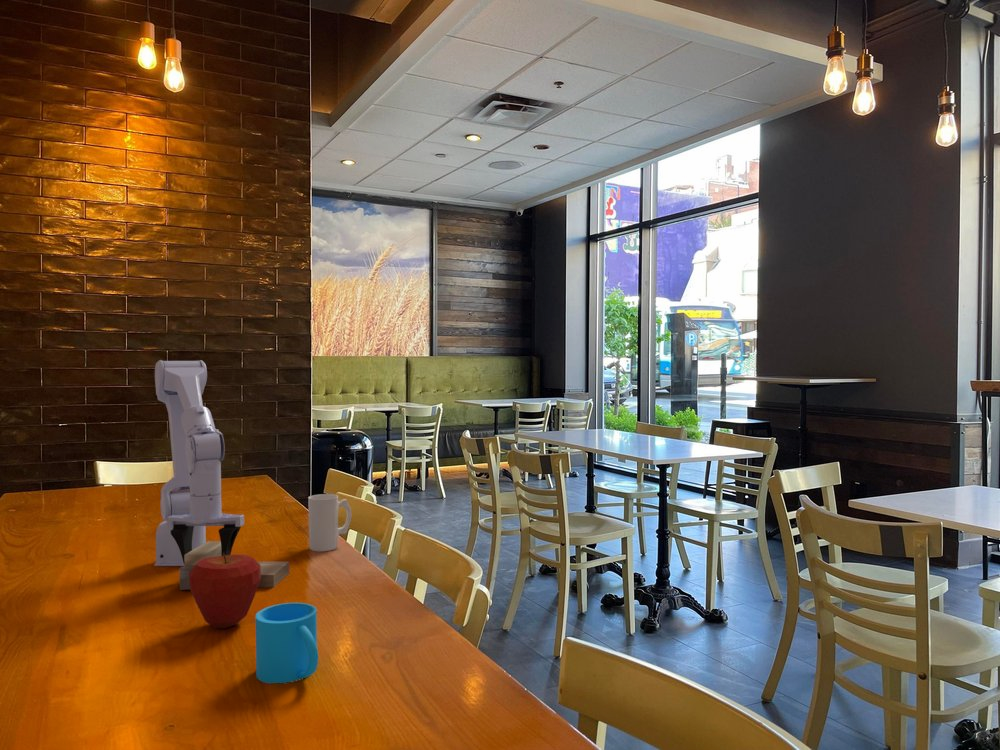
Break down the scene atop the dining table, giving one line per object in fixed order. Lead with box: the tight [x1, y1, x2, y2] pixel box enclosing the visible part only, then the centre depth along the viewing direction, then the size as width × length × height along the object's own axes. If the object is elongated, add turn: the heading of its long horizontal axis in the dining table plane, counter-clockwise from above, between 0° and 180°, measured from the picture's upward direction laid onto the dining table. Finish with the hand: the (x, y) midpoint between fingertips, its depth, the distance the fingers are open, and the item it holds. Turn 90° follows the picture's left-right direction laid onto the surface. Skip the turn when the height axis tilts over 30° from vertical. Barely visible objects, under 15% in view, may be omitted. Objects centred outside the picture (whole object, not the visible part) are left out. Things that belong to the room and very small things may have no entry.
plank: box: [257, 561, 290, 588], centre depth 139 cm, size 18×9×2 cm, turn 88°
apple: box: [189, 553, 261, 629], centre depth 115 cm, size 11×11×12 cm
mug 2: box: [307, 493, 352, 553], centre depth 163 cm, size 10×7×12 cm, turn 120°
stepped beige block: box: [179, 540, 221, 591], centre depth 138 cm, size 4×12×6 cm, turn 178°
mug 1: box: [255, 602, 319, 684], centre depth 96 cm, size 12×8×8 cm
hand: (206, 562), depth 139 cm, fingers open, 7 cm apart
